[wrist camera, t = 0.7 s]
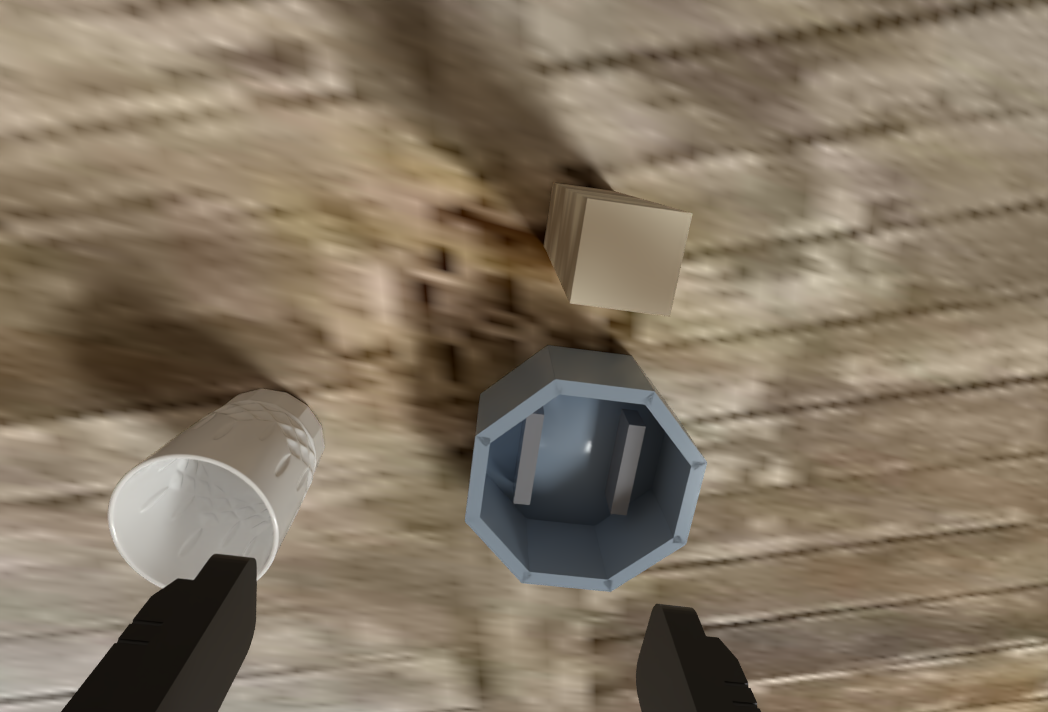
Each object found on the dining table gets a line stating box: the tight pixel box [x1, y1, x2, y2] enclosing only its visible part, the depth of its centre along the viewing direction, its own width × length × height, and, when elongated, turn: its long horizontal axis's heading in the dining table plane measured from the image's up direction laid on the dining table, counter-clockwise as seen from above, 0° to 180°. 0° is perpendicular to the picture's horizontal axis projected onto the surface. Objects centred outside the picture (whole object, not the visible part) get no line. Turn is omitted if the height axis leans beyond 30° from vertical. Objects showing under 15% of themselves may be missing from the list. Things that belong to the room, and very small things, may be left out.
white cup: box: [108, 389, 325, 588], centre depth 33 cm, size 8×8×10 cm
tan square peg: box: [544, 182, 692, 316], centre depth 27 cm, size 4×4×15 cm
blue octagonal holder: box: [465, 345, 707, 592], centre depth 36 cm, size 13×13×6 cm
